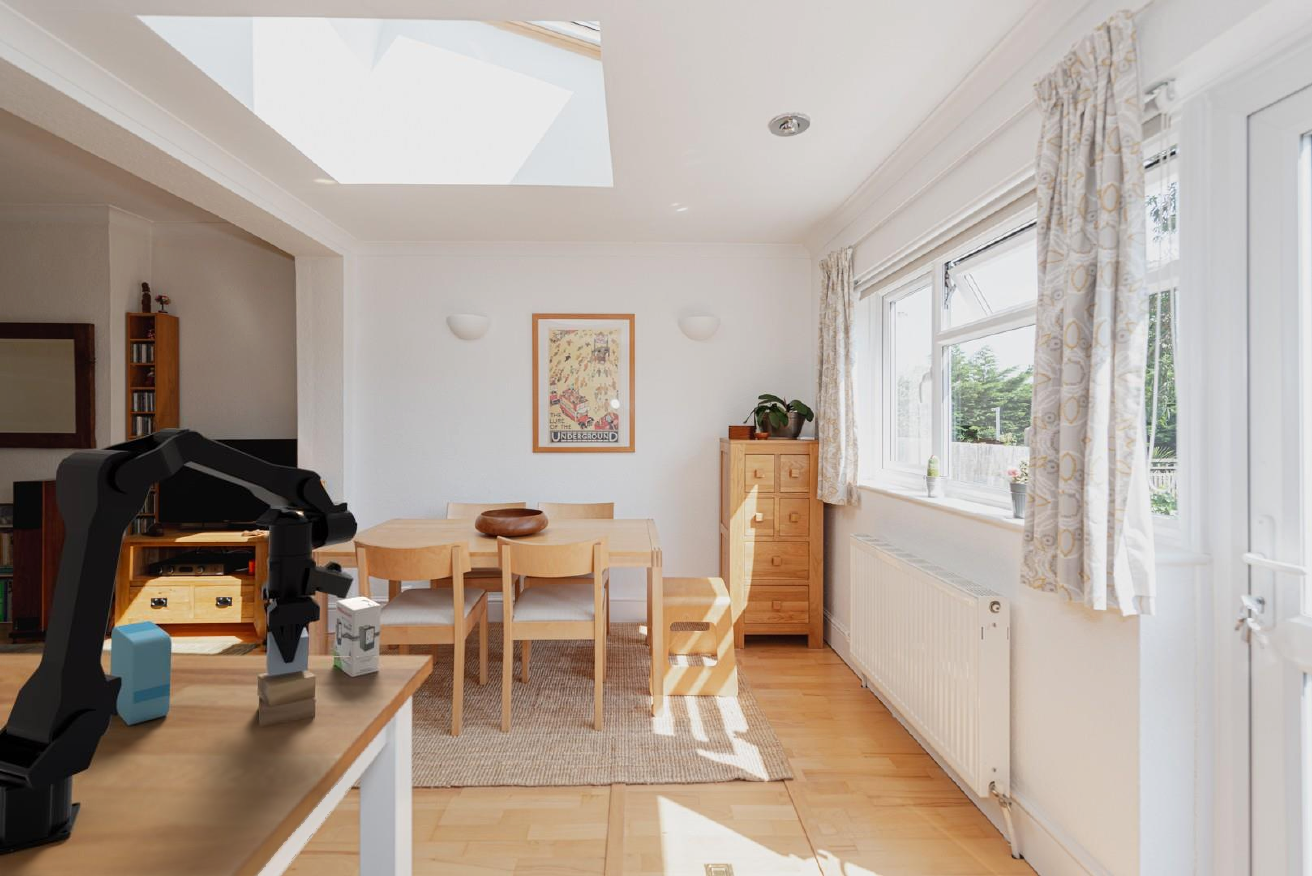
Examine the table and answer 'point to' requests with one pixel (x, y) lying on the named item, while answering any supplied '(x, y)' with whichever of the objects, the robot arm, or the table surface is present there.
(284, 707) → the lower slab
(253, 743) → the table surface
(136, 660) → the data package
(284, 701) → the upper slab
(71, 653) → the robot arm
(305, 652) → the blue cube
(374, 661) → the ink box
